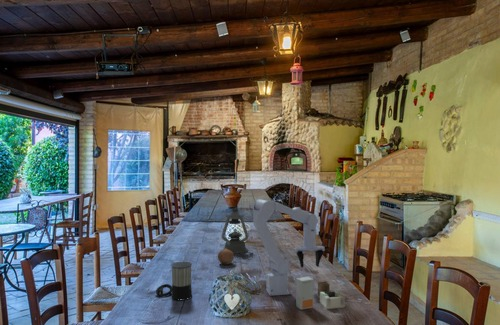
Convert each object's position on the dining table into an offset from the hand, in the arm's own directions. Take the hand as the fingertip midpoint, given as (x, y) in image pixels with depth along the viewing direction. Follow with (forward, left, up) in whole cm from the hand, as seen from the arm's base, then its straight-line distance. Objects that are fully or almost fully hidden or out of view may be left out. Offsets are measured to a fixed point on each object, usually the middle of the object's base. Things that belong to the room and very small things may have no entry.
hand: (309, 266), depth 183 cm
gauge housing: (+2, -23, -10) cm, 25 cm away
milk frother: (-64, +1, -10) cm, 65 cm away
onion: (-35, +47, -10) cm, 59 cm away
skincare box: (-10, -23, -10) cm, 27 cm away
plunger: (+2, -20, -9) cm, 22 cm away
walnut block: (+2, -13, -10) cm, 17 cm away
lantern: (-25, +79, -10) cm, 83 cm away
